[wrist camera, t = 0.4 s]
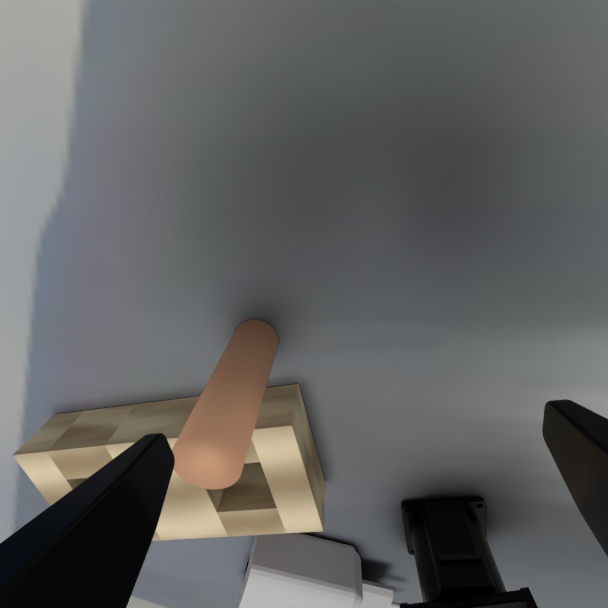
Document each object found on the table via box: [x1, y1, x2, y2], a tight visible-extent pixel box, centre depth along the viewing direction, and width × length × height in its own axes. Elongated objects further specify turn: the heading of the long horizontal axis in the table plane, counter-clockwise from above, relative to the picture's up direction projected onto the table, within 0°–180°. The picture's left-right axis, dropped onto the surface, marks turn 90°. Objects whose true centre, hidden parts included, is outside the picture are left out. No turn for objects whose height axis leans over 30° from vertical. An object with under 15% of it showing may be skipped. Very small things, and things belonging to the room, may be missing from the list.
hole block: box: [13, 384, 325, 541], centre depth 26 cm, size 10×20×4 cm, turn 102°
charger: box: [236, 533, 400, 608], centre depth 31 cm, size 5×9×15 cm
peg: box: [172, 319, 278, 489], centre depth 19 cm, size 3×3×10 cm
